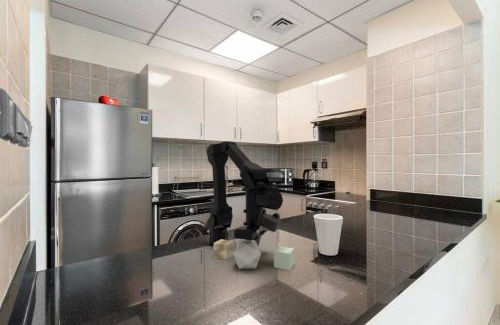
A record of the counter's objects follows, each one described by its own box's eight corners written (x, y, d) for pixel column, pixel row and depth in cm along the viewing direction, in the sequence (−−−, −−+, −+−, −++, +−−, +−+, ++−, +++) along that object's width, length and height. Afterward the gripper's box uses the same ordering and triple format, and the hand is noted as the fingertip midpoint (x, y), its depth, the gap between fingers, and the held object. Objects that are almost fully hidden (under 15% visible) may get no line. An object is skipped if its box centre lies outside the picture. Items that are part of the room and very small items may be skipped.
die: (252, 278, 68) (268, 246, 72) (226, 261, 70) (243, 231, 73) (250, 276, 76) (265, 248, 79) (227, 260, 77) (242, 233, 81)
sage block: (273, 267, 74) (273, 251, 74) (279, 261, 79) (278, 246, 79) (290, 270, 72) (289, 253, 72) (294, 264, 77) (294, 248, 77)
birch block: (213, 258, 82) (213, 243, 82) (221, 253, 86) (221, 239, 87) (226, 260, 80) (226, 245, 80) (233, 255, 84) (233, 241, 85)
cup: (344, 251, 89) (344, 215, 89) (342, 260, 80) (341, 220, 80) (316, 247, 93) (316, 212, 93) (311, 255, 84) (311, 217, 84)
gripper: (267, 212, 68) (268, 269, 68) (286, 203, 85) (286, 248, 85) (232, 210, 72) (232, 263, 72) (256, 201, 89) (257, 244, 89)
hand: (254, 254), depth 79 cm, fingers closed
